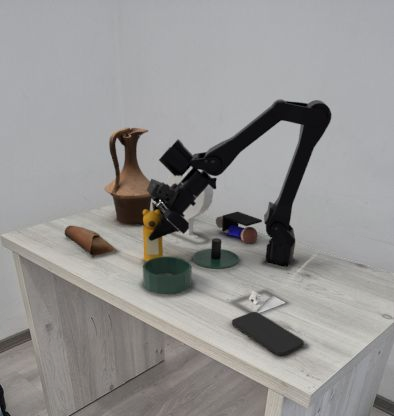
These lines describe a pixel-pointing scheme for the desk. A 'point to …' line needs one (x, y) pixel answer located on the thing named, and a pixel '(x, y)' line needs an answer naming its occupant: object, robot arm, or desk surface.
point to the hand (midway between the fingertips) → (147, 236)
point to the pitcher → (128, 179)
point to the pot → (167, 283)
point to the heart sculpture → (199, 208)
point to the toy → (150, 247)
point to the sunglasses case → (89, 240)
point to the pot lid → (215, 257)
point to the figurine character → (232, 228)
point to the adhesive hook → (255, 297)
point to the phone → (268, 333)
